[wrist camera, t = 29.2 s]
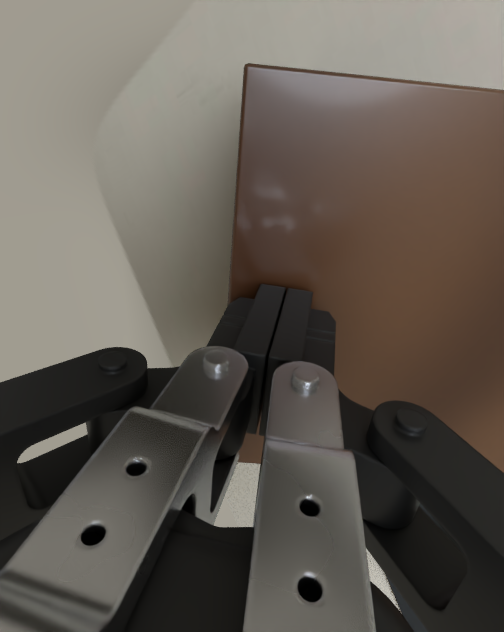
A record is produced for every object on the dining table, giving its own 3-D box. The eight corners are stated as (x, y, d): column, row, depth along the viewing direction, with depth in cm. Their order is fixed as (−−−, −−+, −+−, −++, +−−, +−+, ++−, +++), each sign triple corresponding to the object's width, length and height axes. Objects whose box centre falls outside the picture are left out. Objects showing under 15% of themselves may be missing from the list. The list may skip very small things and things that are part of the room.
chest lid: (218, 445, 16) (216, 461, 15) (245, 63, 10) (244, 62, 9) (604, 471, 17) (619, 488, 16) (859, 127, 10) (902, 131, 10)
